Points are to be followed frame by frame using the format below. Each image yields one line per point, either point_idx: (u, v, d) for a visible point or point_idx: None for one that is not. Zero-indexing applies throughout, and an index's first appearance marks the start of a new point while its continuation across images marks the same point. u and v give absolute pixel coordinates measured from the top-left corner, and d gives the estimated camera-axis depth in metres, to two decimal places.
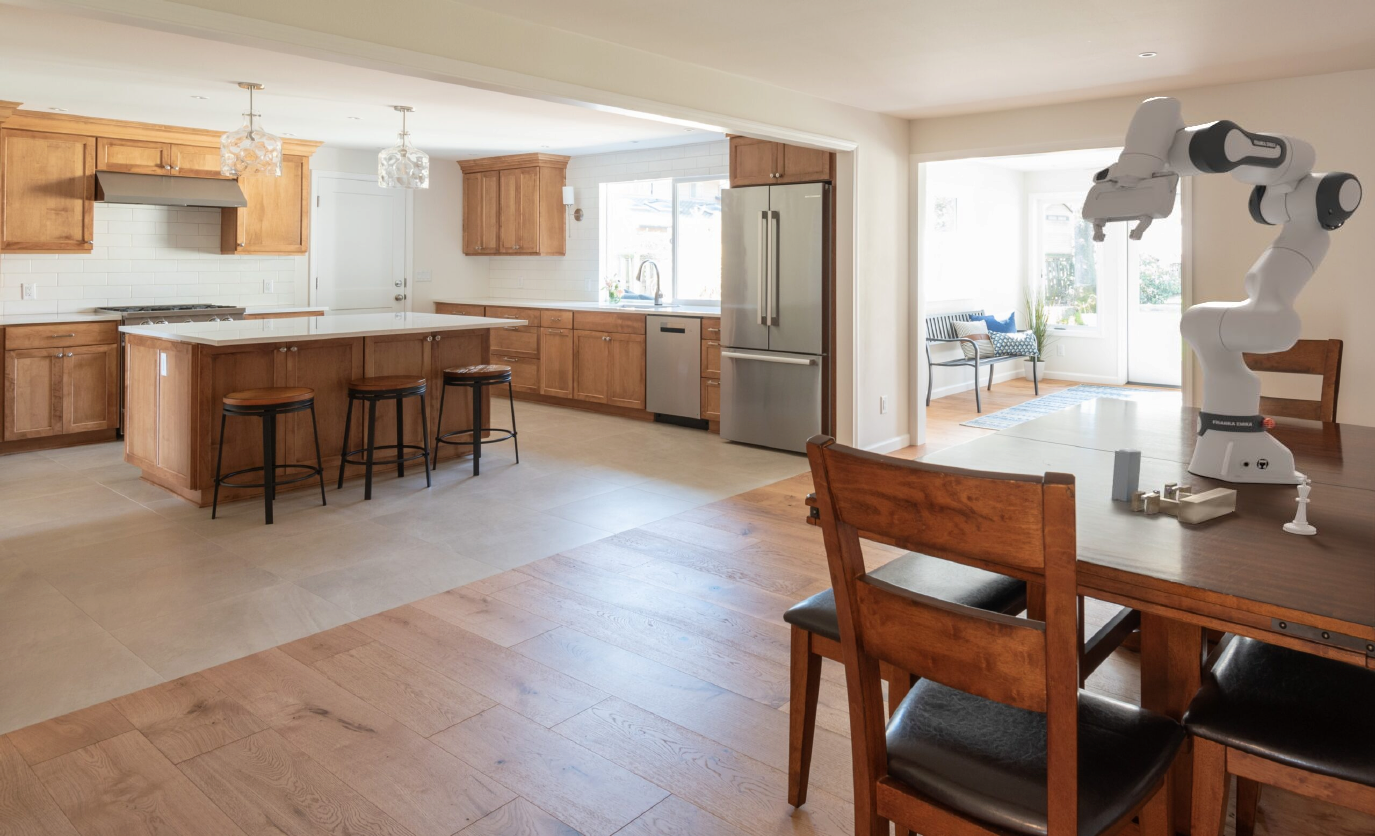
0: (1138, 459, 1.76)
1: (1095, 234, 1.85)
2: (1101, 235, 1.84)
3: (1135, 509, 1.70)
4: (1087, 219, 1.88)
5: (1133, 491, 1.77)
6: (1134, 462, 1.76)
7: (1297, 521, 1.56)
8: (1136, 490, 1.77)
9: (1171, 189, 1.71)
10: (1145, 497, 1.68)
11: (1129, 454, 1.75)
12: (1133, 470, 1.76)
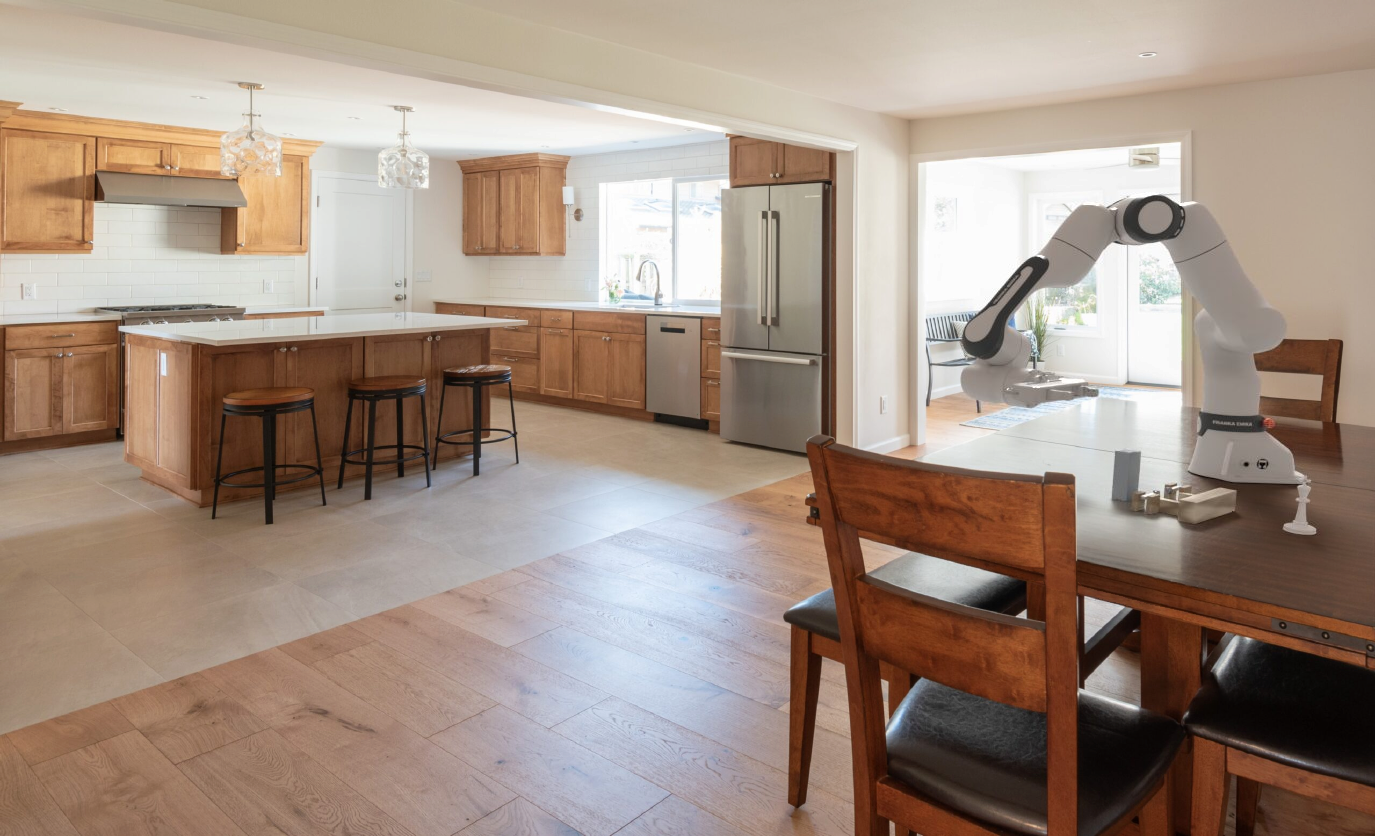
0: (1138, 459, 1.76)
1: (1091, 396, 1.90)
2: (1089, 392, 1.90)
3: (1135, 509, 1.70)
4: None
5: (1133, 491, 1.77)
6: (1134, 462, 1.76)
7: (1297, 521, 1.56)
8: (1136, 490, 1.77)
9: (1016, 394, 1.88)
10: (1145, 497, 1.68)
11: (1129, 454, 1.75)
12: (1133, 470, 1.76)
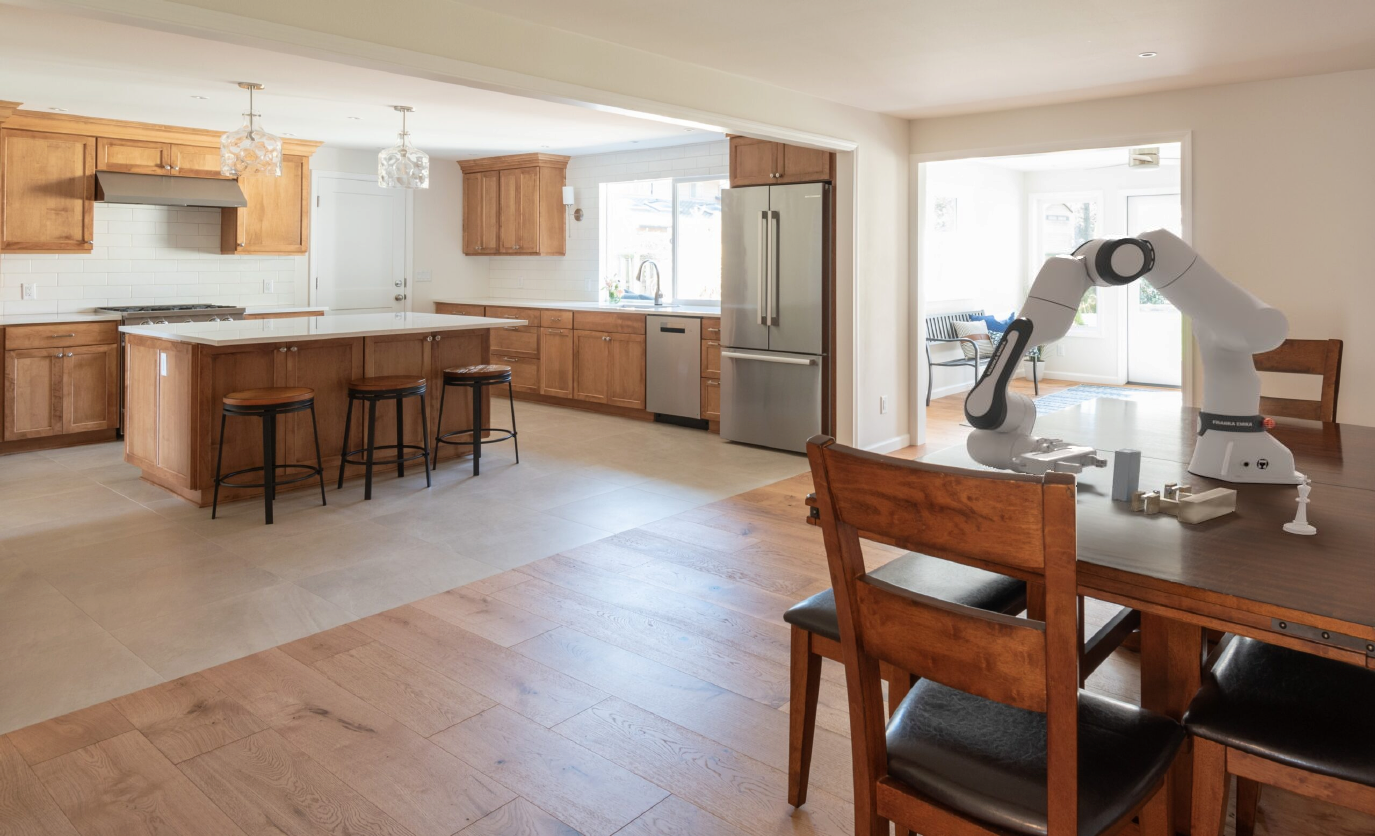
0: (1138, 459, 1.76)
1: None
2: (1098, 463, 1.88)
3: (1135, 509, 1.70)
4: None
5: (1133, 491, 1.77)
6: (1134, 462, 1.76)
7: (1297, 521, 1.56)
8: (1136, 490, 1.77)
9: (1023, 466, 1.86)
10: (1145, 497, 1.68)
11: (1129, 454, 1.75)
12: (1133, 470, 1.76)
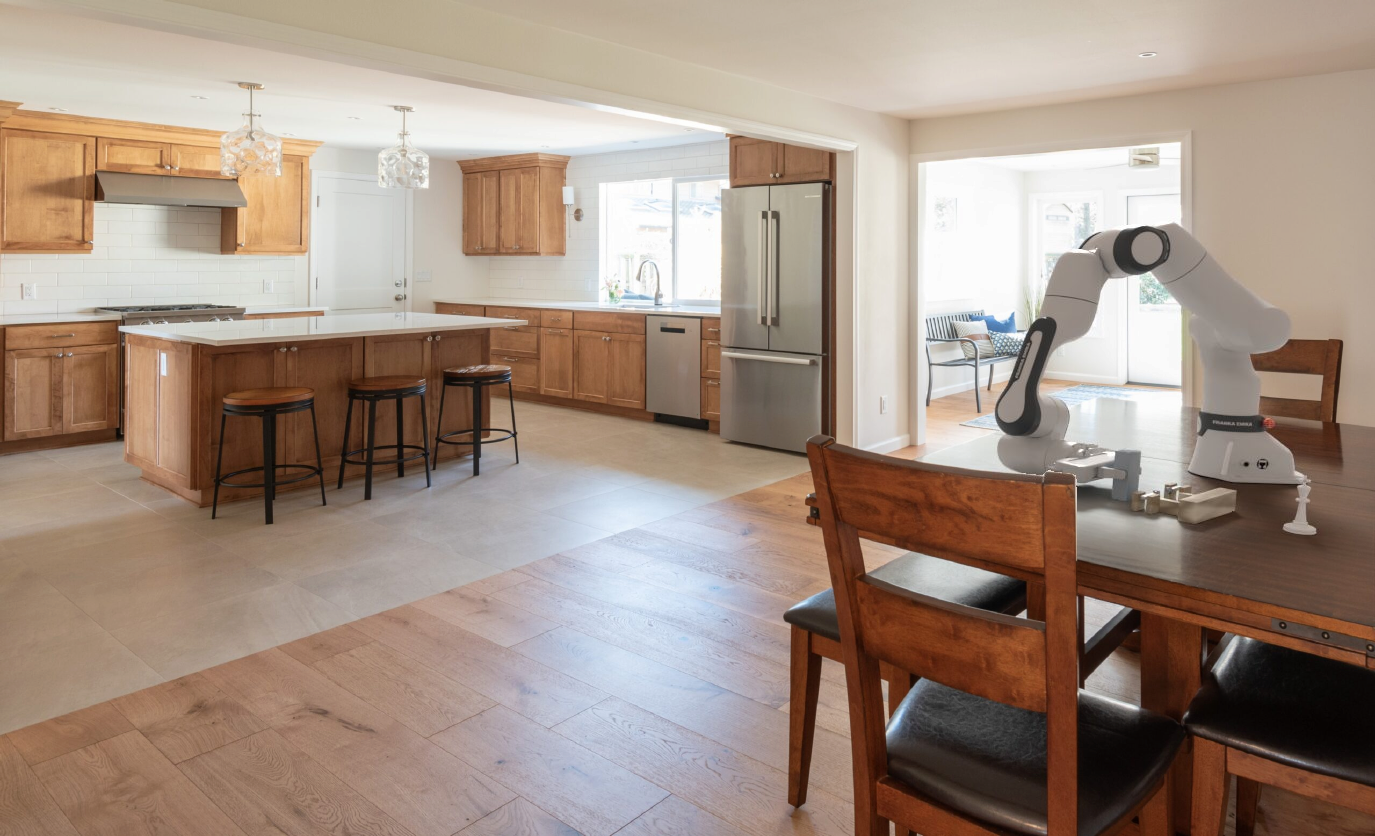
0: (1138, 459, 1.76)
1: None
2: None
3: (1135, 509, 1.70)
4: None
5: (1133, 491, 1.77)
6: (1134, 462, 1.76)
7: (1297, 521, 1.56)
8: (1136, 490, 1.77)
9: None
10: (1145, 497, 1.68)
11: (1129, 454, 1.75)
12: (1133, 470, 1.76)
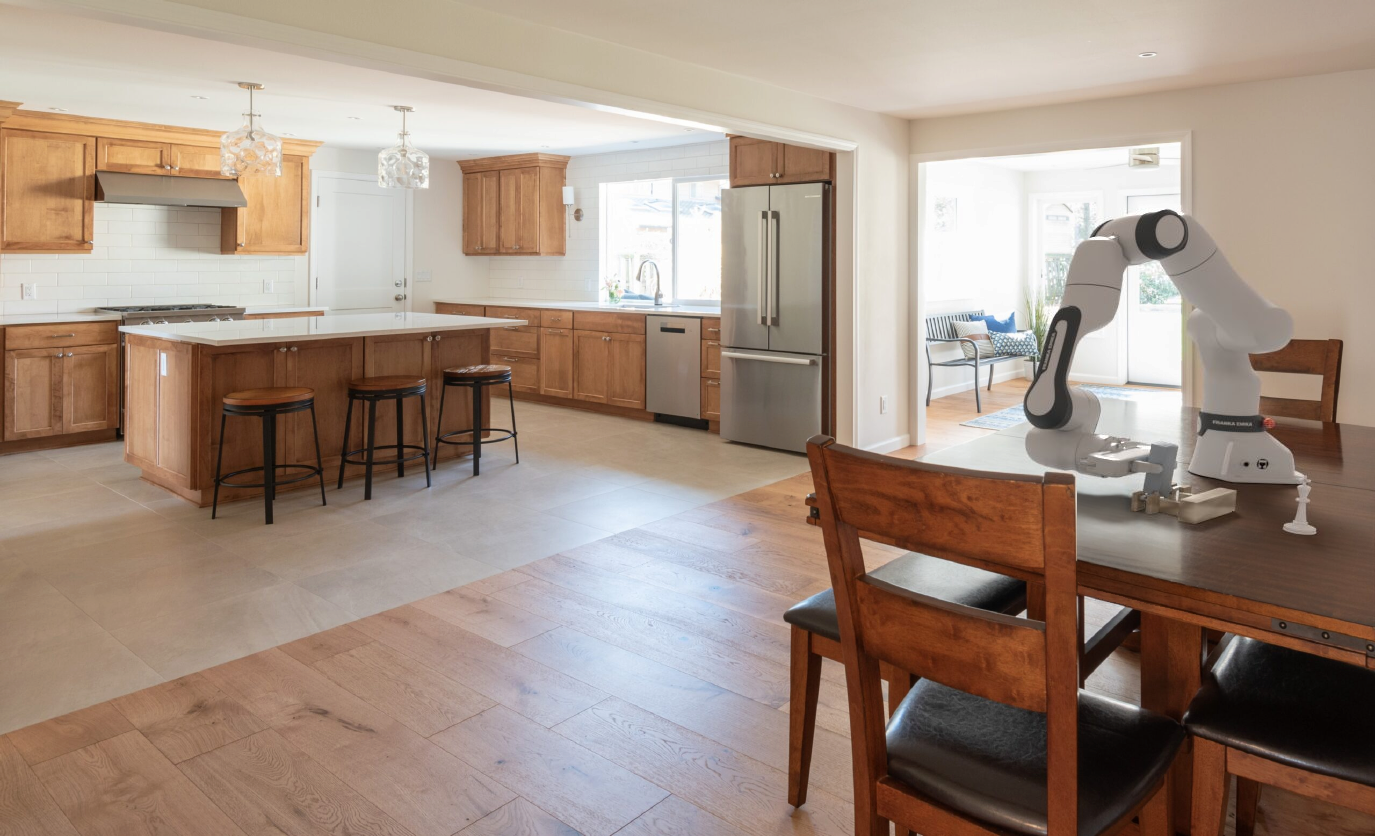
0: (1175, 454, 1.70)
1: None
2: None
3: (1135, 509, 1.70)
4: None
5: (1166, 487, 1.71)
6: (1170, 457, 1.70)
7: (1297, 521, 1.56)
8: (1169, 485, 1.71)
9: (1092, 466, 1.74)
10: (1144, 497, 1.68)
11: (1166, 448, 1.69)
12: (1168, 465, 1.70)
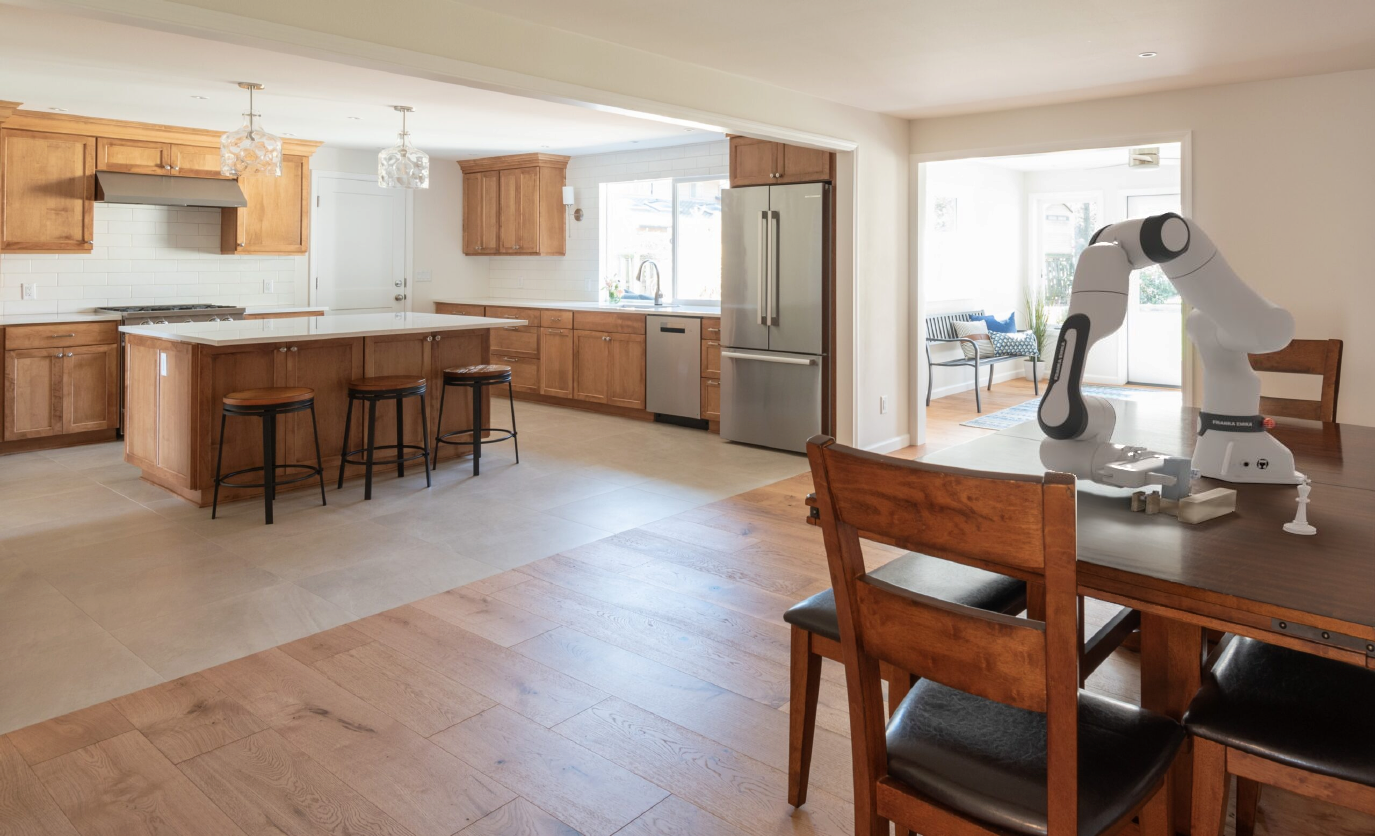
0: (1189, 468, 1.68)
1: None
2: (1190, 474, 1.72)
3: (1135, 509, 1.70)
4: None
5: None
6: (1184, 470, 1.68)
7: (1297, 521, 1.56)
8: None
9: (1109, 476, 1.71)
10: (1144, 497, 1.68)
11: (1179, 462, 1.68)
12: (1183, 479, 1.68)
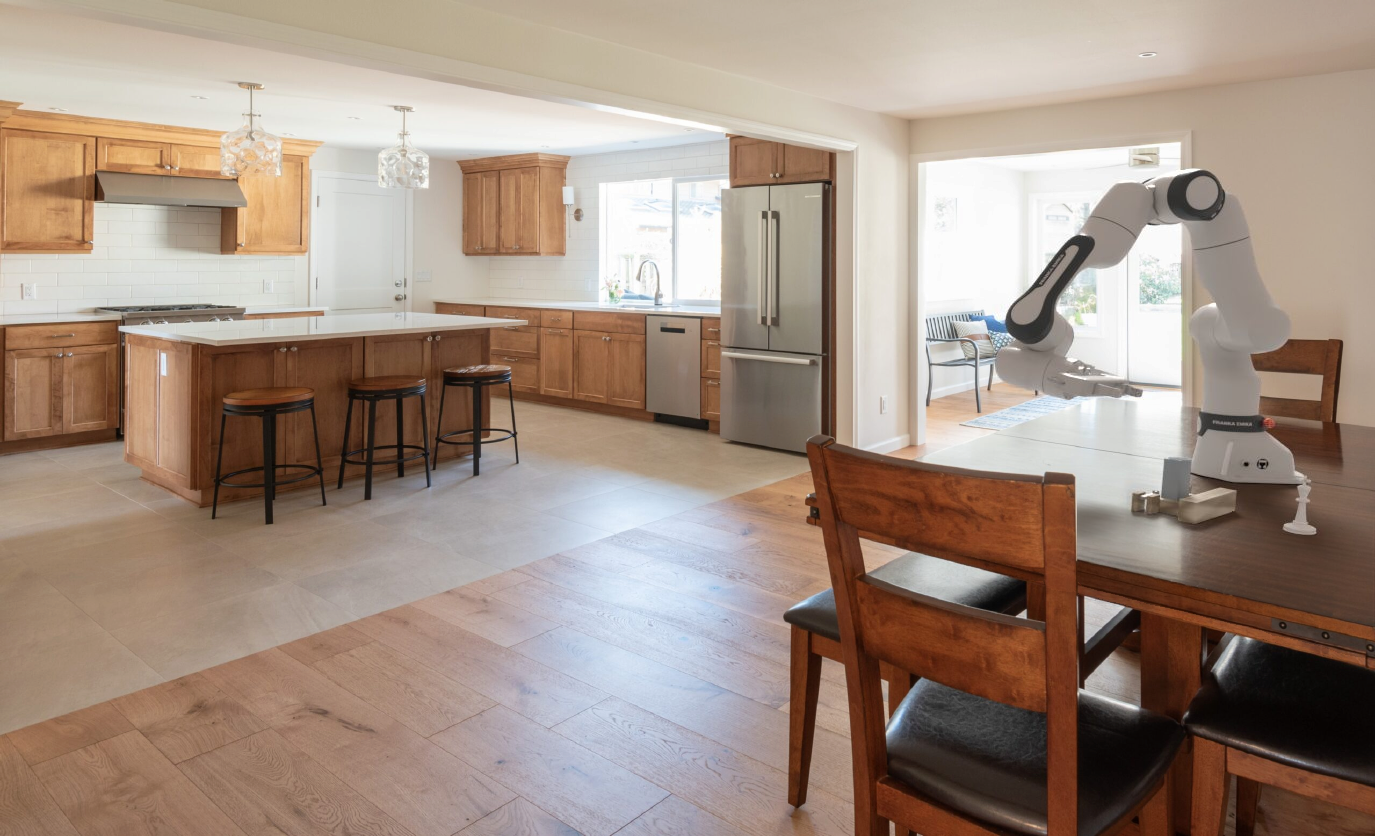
0: (1189, 468, 1.68)
1: None
2: (1133, 392, 1.82)
3: (1135, 509, 1.70)
4: None
5: None
6: (1185, 471, 1.68)
7: (1297, 521, 1.56)
8: None
9: (1061, 384, 1.79)
10: (1144, 497, 1.68)
11: (1179, 462, 1.68)
12: (1183, 479, 1.68)
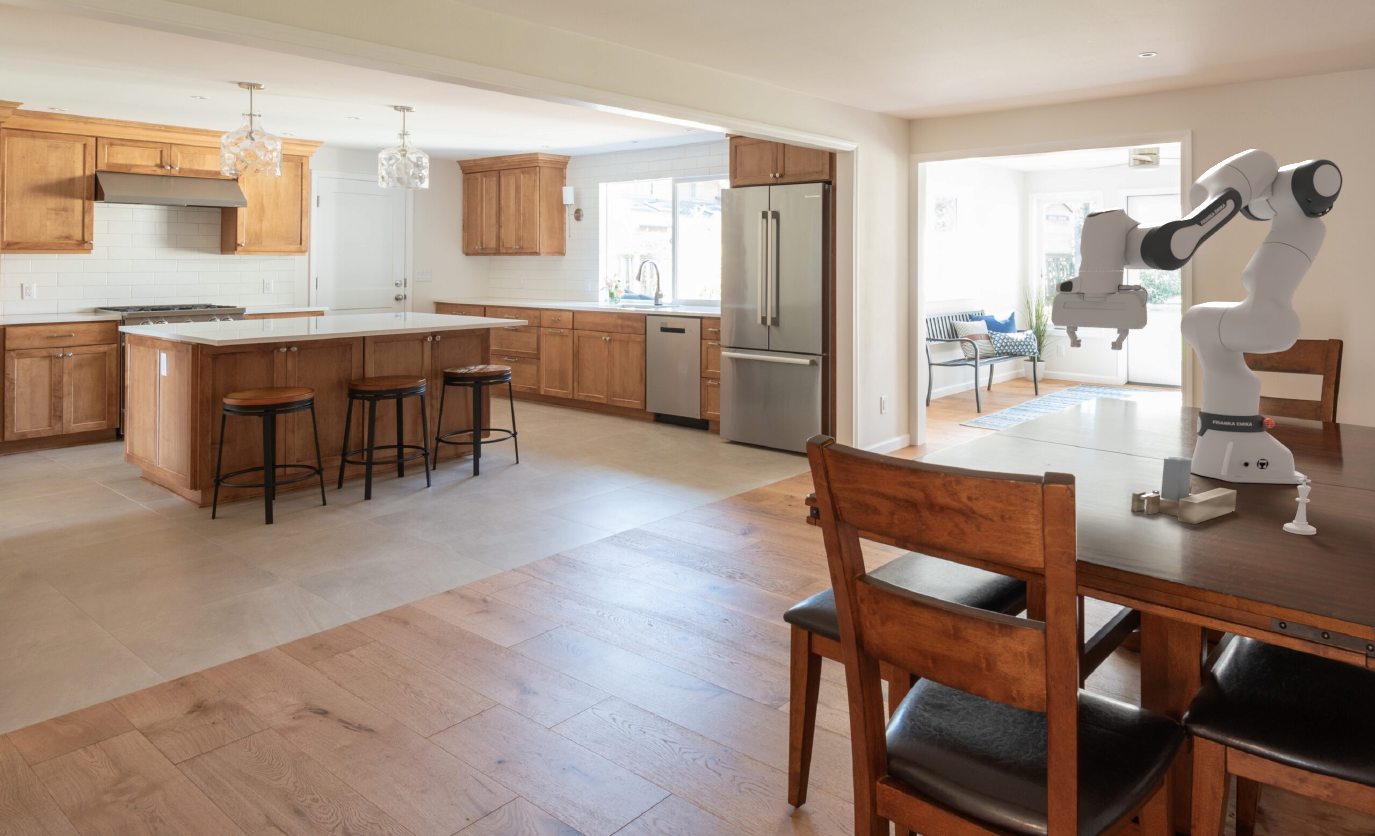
0: (1189, 468, 1.68)
1: (1072, 342, 1.96)
2: (1078, 341, 1.96)
3: (1135, 509, 1.70)
4: (1058, 325, 1.98)
5: None
6: (1185, 471, 1.68)
7: (1297, 521, 1.56)
8: None
9: (1143, 304, 1.83)
10: (1144, 497, 1.68)
11: (1179, 462, 1.68)
12: (1183, 479, 1.68)
